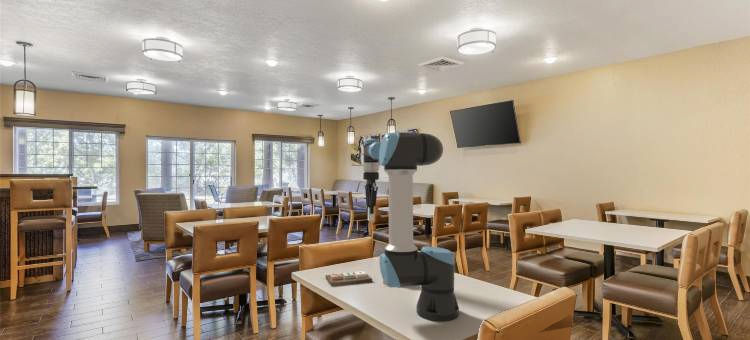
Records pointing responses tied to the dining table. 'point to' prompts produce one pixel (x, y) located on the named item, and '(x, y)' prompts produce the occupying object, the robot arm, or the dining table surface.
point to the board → (348, 280)
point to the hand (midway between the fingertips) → (370, 220)
